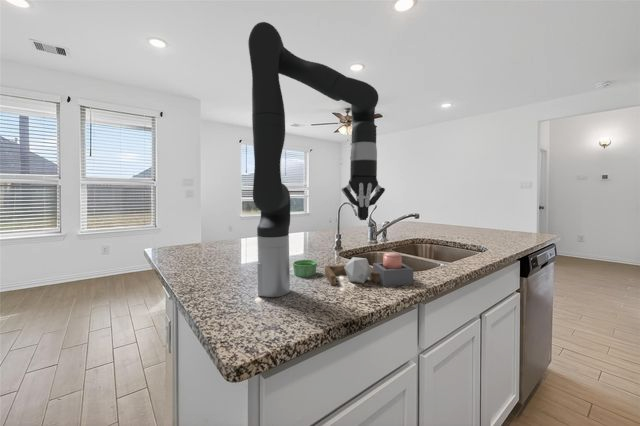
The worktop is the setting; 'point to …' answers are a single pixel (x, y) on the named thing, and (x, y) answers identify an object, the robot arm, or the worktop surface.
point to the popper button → (392, 260)
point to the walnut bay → (339, 269)
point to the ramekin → (304, 268)
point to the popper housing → (394, 275)
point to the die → (358, 270)
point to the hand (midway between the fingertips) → (362, 219)
